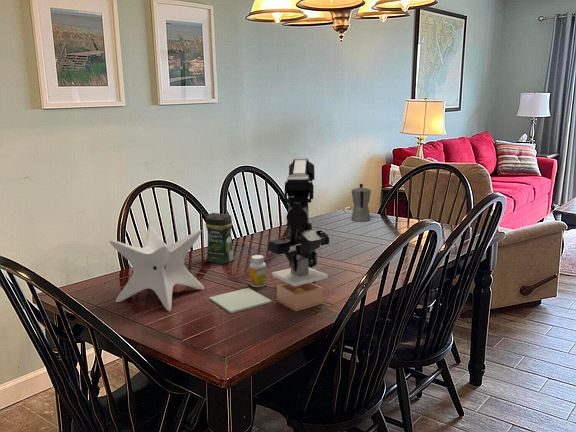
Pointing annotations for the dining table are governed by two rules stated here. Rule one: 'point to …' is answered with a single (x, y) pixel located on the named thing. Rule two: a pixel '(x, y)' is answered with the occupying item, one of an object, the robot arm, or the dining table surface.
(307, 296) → the open wooden box
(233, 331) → the dining table surface
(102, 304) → the dining table surface
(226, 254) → the coffee jar
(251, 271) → the supplement bottle
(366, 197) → the coffeepot
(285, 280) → the lid
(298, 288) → the ball
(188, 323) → the dining table surface
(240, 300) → the mat
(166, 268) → the white spiked star
